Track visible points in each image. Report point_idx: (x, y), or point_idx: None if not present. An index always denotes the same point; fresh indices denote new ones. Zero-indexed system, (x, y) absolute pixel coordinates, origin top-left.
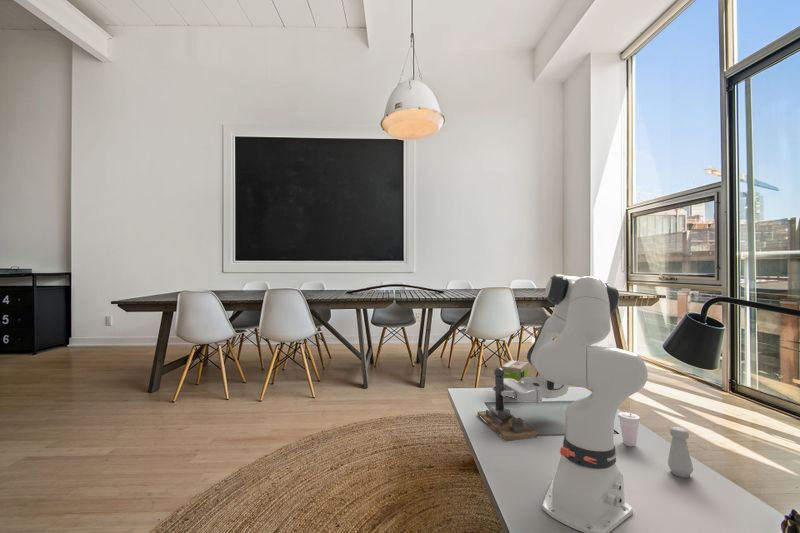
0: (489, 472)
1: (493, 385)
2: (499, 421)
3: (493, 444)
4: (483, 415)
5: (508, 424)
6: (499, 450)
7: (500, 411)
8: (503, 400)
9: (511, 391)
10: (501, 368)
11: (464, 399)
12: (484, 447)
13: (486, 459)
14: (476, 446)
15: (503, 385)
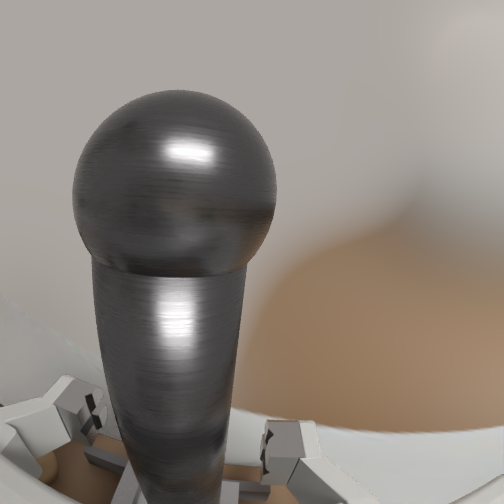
0: (17, 310)
1: (312, 423)
2: (99, 449)
3: (53, 376)
4: (248, 472)
5: (85, 495)
6: (27, 363)
7: (125, 470)
8: (144, 496)
9: (2, 415)
10: (156, 92)
11: (483, 452)
12: (62, 355)
13: (36, 329)
14: (80, 348)
15: (112, 402)
